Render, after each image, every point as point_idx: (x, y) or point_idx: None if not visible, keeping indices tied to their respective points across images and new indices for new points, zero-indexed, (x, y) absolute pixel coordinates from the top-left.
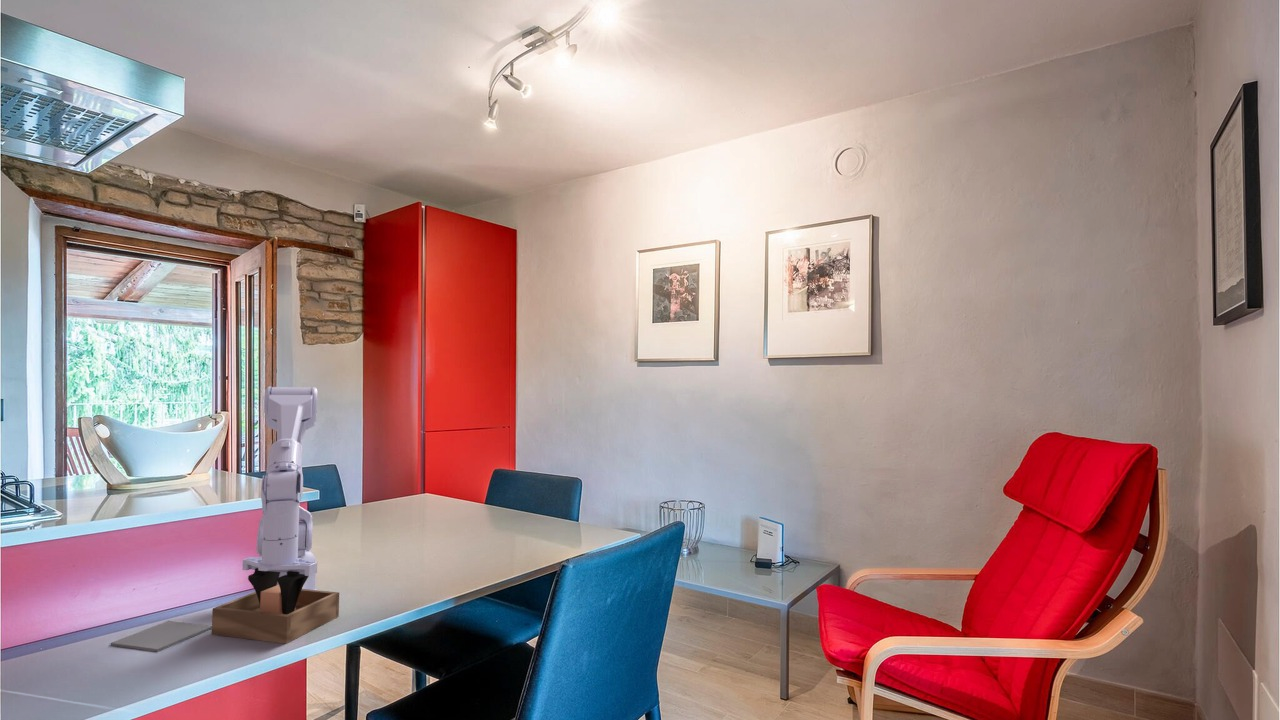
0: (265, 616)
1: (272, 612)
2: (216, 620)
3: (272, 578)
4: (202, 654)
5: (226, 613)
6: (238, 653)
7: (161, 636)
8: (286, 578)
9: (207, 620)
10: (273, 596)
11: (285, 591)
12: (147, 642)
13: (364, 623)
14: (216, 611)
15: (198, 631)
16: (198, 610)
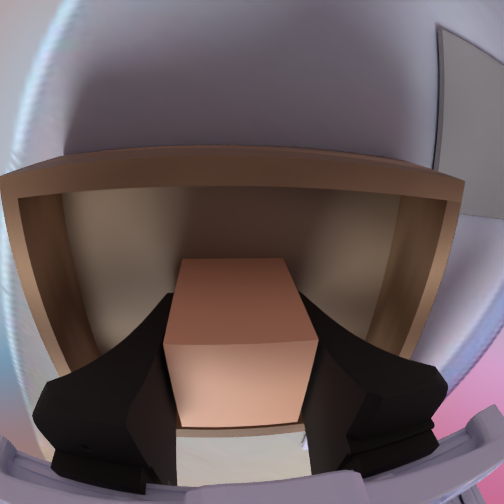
0: (118, 158)
1: (214, 277)
2: (416, 166)
3: (318, 438)
4: (299, 12)
5: (392, 166)
6: (170, 41)
7: (493, 121)
8: (44, 414)
9: (464, 259)
10: (210, 329)
11: (114, 355)
12: (492, 80)
13: (24, 342)
14: (442, 175)
15: (442, 161)
16: (494, 298)
